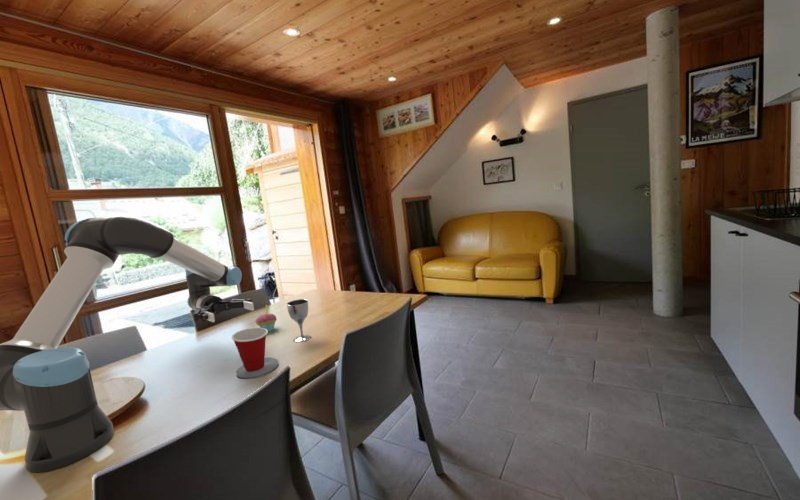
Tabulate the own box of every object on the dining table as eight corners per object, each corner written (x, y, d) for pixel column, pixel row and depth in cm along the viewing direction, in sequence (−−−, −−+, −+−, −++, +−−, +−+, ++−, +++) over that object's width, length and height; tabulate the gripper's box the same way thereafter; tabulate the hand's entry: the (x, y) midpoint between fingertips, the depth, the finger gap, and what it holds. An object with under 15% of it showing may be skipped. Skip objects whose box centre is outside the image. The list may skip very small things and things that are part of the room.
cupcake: (282, 327, 153) (278, 301, 151) (265, 334, 146) (261, 307, 144) (269, 325, 157) (265, 299, 156) (253, 332, 150) (248, 305, 149)
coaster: (247, 383, 105) (247, 380, 105) (229, 372, 114) (229, 369, 114) (285, 365, 115) (285, 363, 115) (266, 356, 123) (266, 354, 123)
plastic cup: (260, 376, 107) (254, 339, 105) (230, 375, 109) (223, 339, 108) (279, 359, 118) (274, 326, 116) (251, 359, 120) (245, 326, 118)
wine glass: (316, 337, 137) (311, 300, 135) (299, 344, 132) (293, 306, 129) (305, 333, 143) (300, 298, 141) (288, 340, 137) (282, 303, 135)
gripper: (243, 305, 145) (268, 312, 131) (175, 324, 126) (196, 334, 112) (240, 288, 144) (265, 292, 130) (172, 304, 125) (192, 312, 111)
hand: (233, 312), depth 121 cm, fingers open, 13 cm apart
